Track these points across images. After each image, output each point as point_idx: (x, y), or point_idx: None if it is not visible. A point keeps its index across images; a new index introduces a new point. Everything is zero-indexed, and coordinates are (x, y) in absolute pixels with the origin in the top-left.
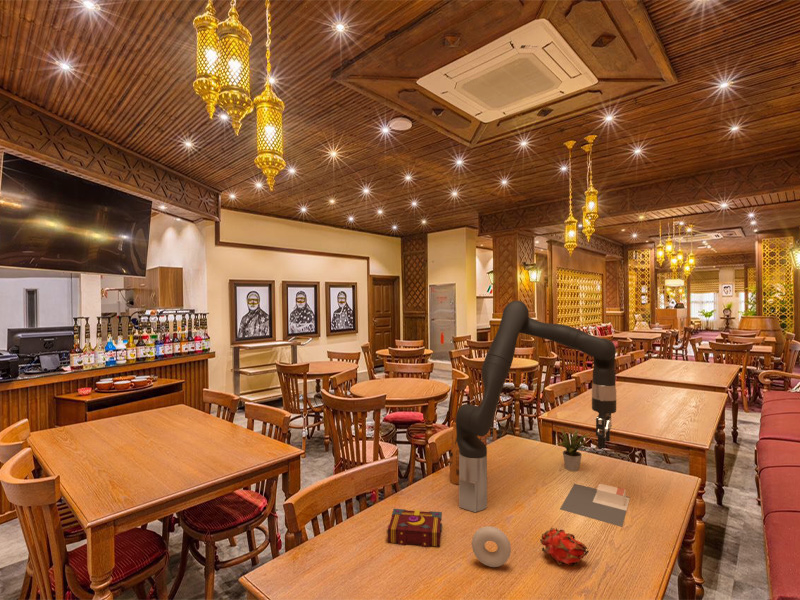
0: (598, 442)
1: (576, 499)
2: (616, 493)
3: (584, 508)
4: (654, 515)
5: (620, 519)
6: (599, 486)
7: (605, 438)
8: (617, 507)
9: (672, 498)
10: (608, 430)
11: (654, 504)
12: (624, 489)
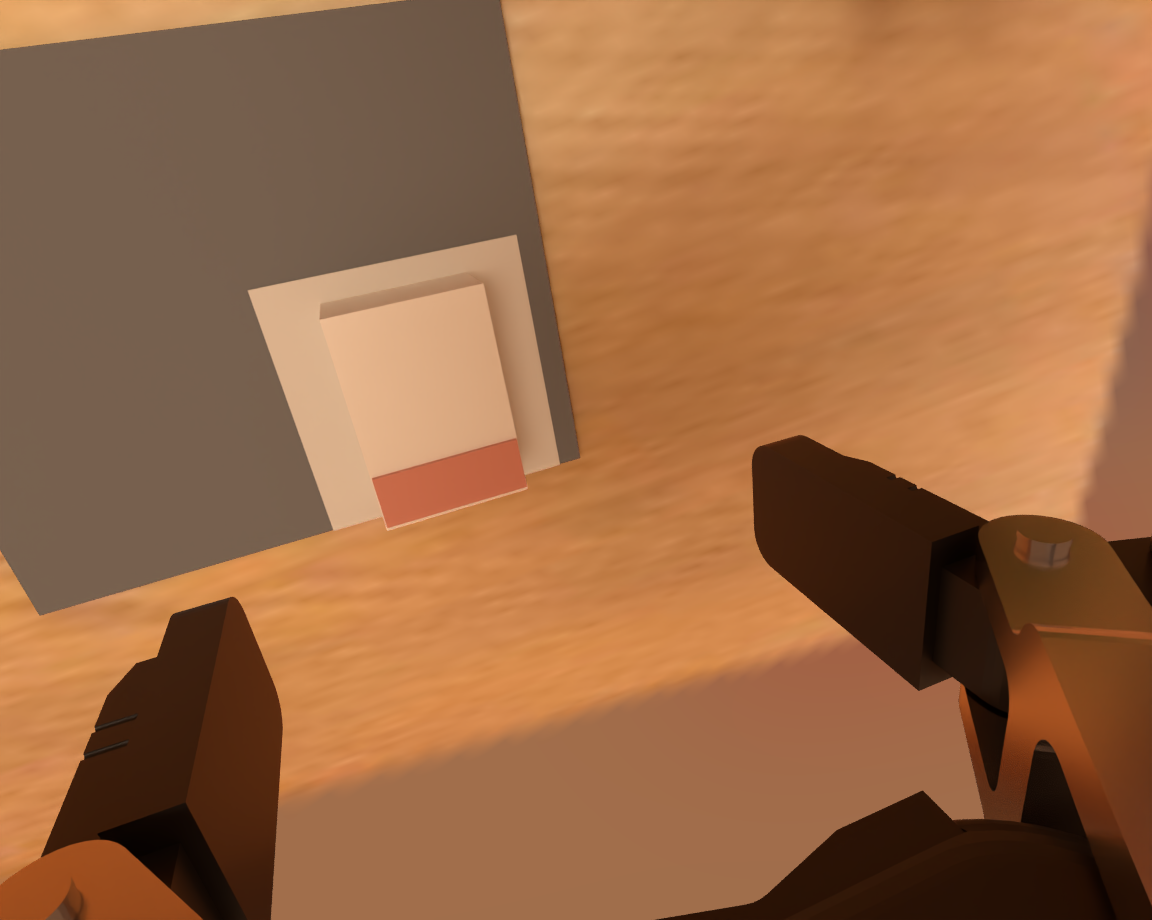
0: (153, 703)
1: (155, 149)
2: (378, 481)
3: (40, 286)
4: (451, 636)
5: (149, 560)
6: (413, 310)
7: (784, 514)
8: (329, 470)
9: (752, 604)
10: (955, 659)
11: (604, 578)
12: (512, 490)
